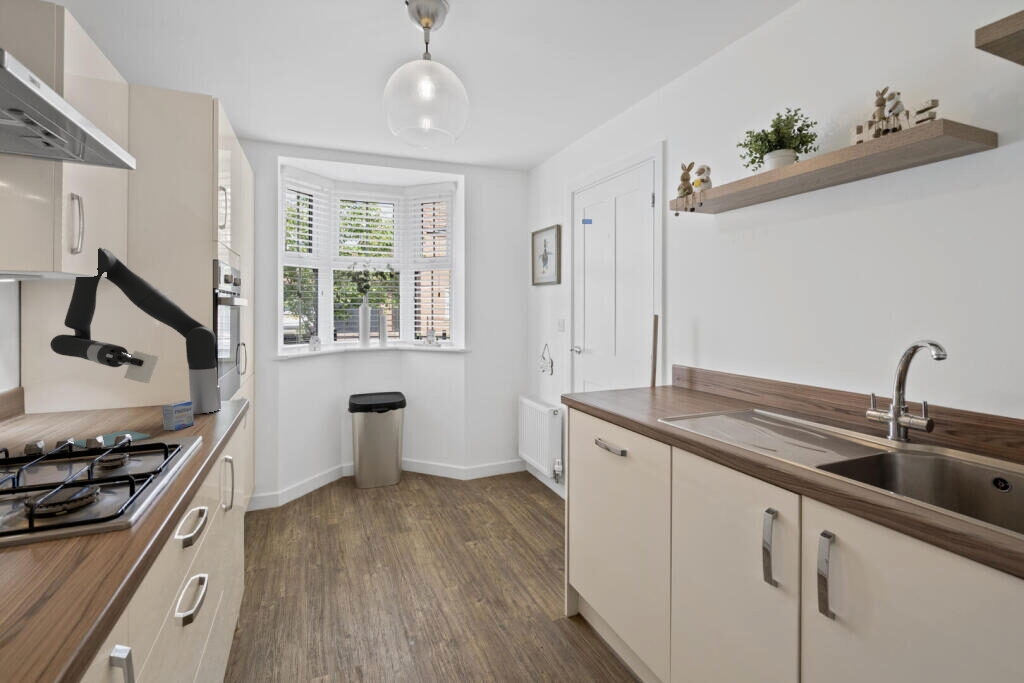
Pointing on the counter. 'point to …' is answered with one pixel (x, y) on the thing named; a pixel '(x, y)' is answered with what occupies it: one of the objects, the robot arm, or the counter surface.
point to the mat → (110, 438)
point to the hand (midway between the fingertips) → (147, 364)
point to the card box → (142, 367)
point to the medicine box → (177, 415)
